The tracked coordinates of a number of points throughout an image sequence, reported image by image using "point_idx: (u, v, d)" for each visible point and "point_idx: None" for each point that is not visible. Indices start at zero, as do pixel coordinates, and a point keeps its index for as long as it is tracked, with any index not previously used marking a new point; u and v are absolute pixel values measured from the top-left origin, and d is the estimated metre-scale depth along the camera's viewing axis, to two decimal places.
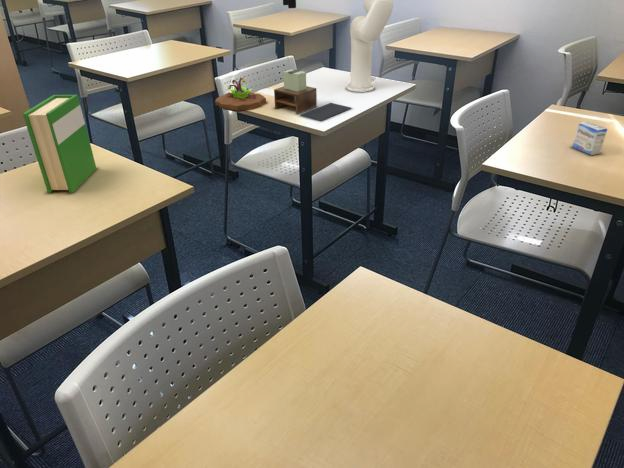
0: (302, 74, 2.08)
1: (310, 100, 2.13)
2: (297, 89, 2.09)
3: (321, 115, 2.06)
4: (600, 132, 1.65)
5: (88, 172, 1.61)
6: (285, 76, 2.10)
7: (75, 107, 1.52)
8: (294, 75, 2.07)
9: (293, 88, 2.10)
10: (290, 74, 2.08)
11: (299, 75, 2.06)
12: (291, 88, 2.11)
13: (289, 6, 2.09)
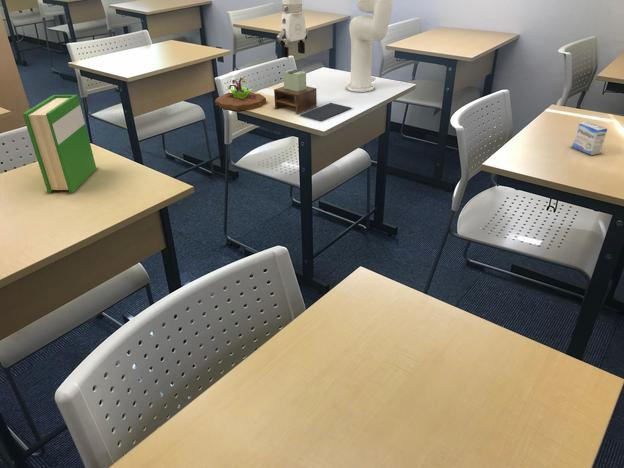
0: (302, 74, 2.08)
1: (310, 100, 2.13)
2: (297, 89, 2.09)
3: (321, 115, 2.06)
4: (600, 132, 1.65)
5: (88, 172, 1.61)
6: (285, 76, 2.10)
7: (75, 107, 1.52)
8: (294, 75, 2.07)
9: (293, 88, 2.10)
10: (290, 74, 2.08)
11: (299, 75, 2.06)
12: (291, 88, 2.11)
13: (282, 55, 2.03)
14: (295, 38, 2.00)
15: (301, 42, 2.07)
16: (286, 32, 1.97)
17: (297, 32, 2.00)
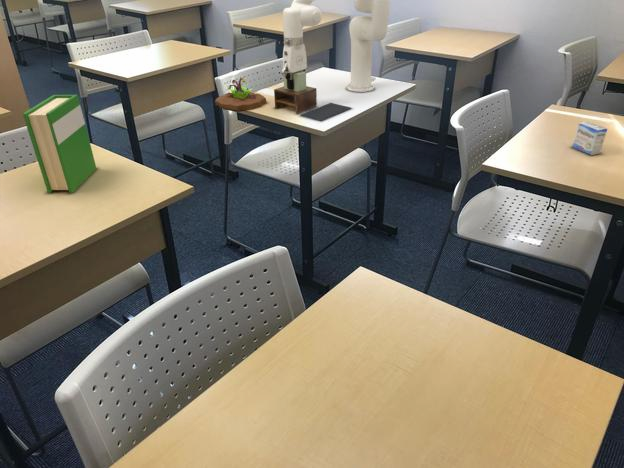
0: (302, 74, 2.08)
1: (310, 100, 2.13)
2: (297, 89, 2.09)
3: (321, 115, 2.06)
4: (600, 132, 1.65)
5: (88, 172, 1.61)
6: None
7: (75, 107, 1.52)
8: (294, 75, 2.07)
9: None
10: None
11: (299, 75, 2.06)
12: None
13: (287, 87, 2.11)
14: (297, 70, 2.06)
15: None
16: (288, 64, 2.03)
17: (298, 63, 2.06)
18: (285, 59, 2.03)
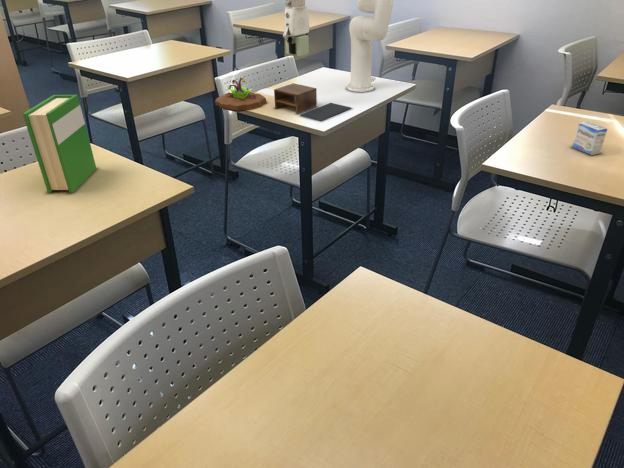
0: (304, 38, 2.00)
1: (310, 100, 2.13)
2: (299, 53, 2.01)
3: (321, 115, 2.06)
4: (600, 132, 1.65)
5: (88, 172, 1.61)
6: None
7: (75, 107, 1.52)
8: (296, 39, 1.99)
9: None
10: None
11: (301, 38, 1.99)
12: None
13: (289, 51, 2.03)
14: (299, 33, 1.98)
15: None
16: (289, 27, 1.96)
17: (301, 26, 1.98)
18: (287, 21, 1.96)
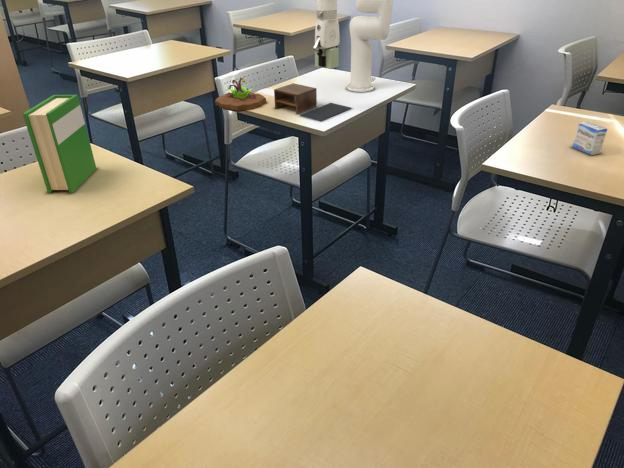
0: (335, 50, 1.96)
1: (310, 100, 2.13)
2: (329, 66, 1.97)
3: (321, 115, 2.06)
4: (600, 132, 1.65)
5: (88, 172, 1.61)
6: (316, 53, 1.99)
7: (75, 107, 1.52)
8: (327, 51, 1.95)
9: None
10: None
11: (332, 51, 1.95)
12: None
13: (319, 64, 1.99)
14: (329, 45, 1.94)
15: None
16: (320, 39, 1.92)
17: (331, 39, 1.94)
18: (318, 34, 1.92)
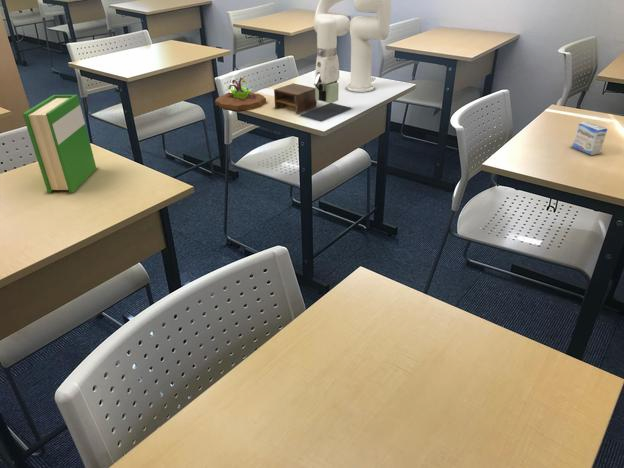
0: (335, 85, 2.03)
1: (310, 100, 2.13)
2: (329, 100, 2.04)
3: (321, 115, 2.06)
4: (600, 132, 1.65)
5: (88, 172, 1.61)
6: None
7: (75, 107, 1.52)
8: (327, 86, 2.02)
9: None
10: (322, 85, 2.03)
11: (332, 86, 2.02)
12: None
13: (319, 98, 2.06)
14: (329, 81, 2.01)
15: None
16: (321, 75, 1.99)
17: (331, 75, 2.01)
18: (318, 70, 1.99)
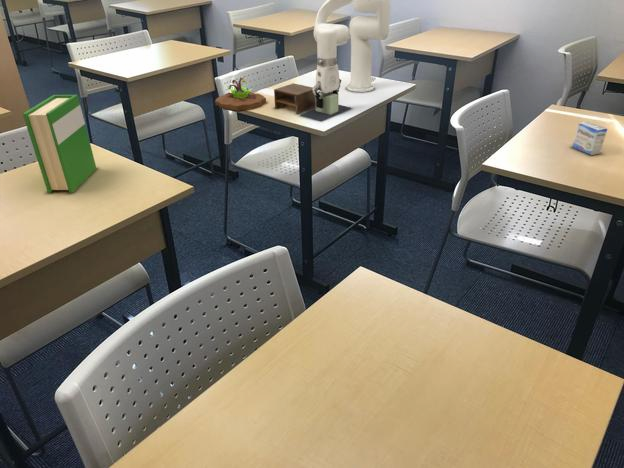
0: (335, 97, 2.05)
1: (310, 100, 2.13)
2: (329, 112, 2.07)
3: (321, 115, 2.06)
4: (600, 132, 1.65)
5: (88, 172, 1.61)
6: None
7: (75, 107, 1.52)
8: (327, 98, 2.05)
9: (325, 111, 2.08)
10: (322, 97, 2.06)
11: (332, 98, 2.04)
12: (323, 111, 2.09)
13: (316, 105, 2.06)
14: (330, 90, 2.03)
15: (334, 91, 2.10)
16: (321, 85, 2.01)
17: (331, 84, 2.03)
18: (318, 79, 2.01)
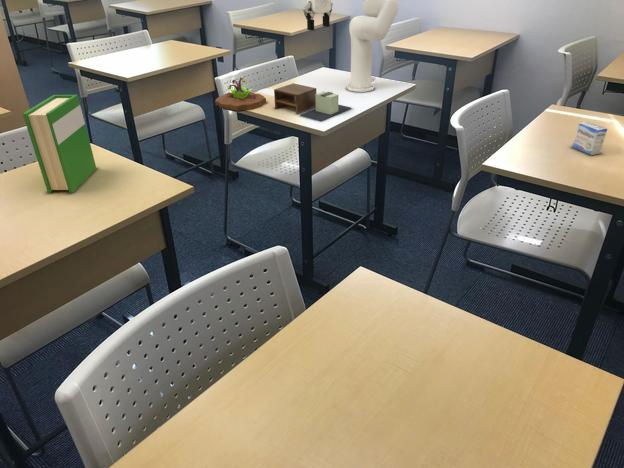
0: (335, 97, 2.05)
1: (310, 100, 2.13)
2: (329, 112, 2.07)
3: (321, 115, 2.06)
4: (600, 132, 1.65)
5: (88, 172, 1.61)
6: (317, 99, 2.08)
7: (75, 107, 1.52)
8: (327, 98, 2.05)
9: (325, 111, 2.08)
10: (322, 97, 2.06)
11: (332, 98, 2.04)
12: (323, 111, 2.09)
13: (308, 28, 2.04)
14: (321, 11, 2.01)
15: (326, 15, 2.08)
16: (312, 4, 1.99)
17: (323, 5, 2.01)
18: None
